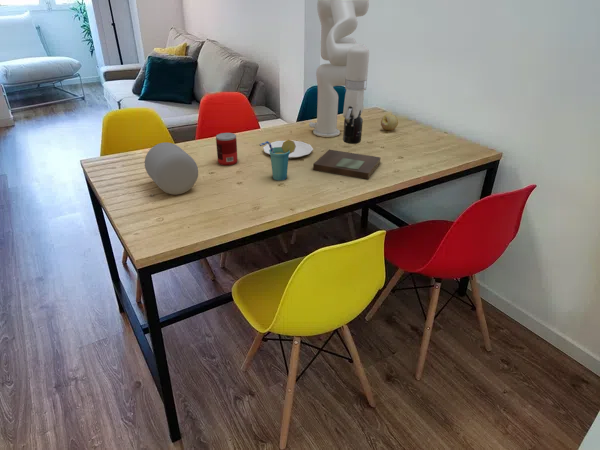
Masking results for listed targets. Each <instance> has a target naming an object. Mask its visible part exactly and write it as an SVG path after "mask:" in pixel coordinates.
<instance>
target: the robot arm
mask: <svg viewBox="0 0 600 450" xmlns="http://www.w3.org/2000/svg"><path fill="white" fill-rule="evenodd" d="M369 2H370V1H369V0H317V3H316V8H317V14H318V18H319V22H320V57H321V59H322V60H324V61H328V62H329V63H322V64H320V65H319V66H318V67H317V68H316V73H315V74H316V75H315V76H316V84H317V86H316V87H317V103H316V105H317V106H316V107H317V109H316V122H312V121H309V123H308V126H309V128H311V129H312V128H313V130H312V132H313V134H314V136H318V137H321V138H333V137H334V138H335V137H337V136H340V133H341V131H340V129H339V128H338V113H339V112H338V111H339V93H338V92H337V91H336V89H335V88H334V87H344V89H345V94H344V102H343V111H342V117H343V118H344V119H345V117H346V127H345V136H348V137H353V136H354V121H355V118H357V117H358V115H359V112H360V110H361V115H362V114H363V112H364V111H363V110H364V102H365V101H364V100H365V99H364V98H365V91H366V90H367V85H368V72H369V61H370V50H369V48H367V46H366V44H364V43H357V41H356V39H355V38H354V37H352V36H351V37H350V35H351V34H353V33H354V32H355V31H356V30H357V28H358V17H363V16H365V15H366V14H367V13H368V11H369V6H370V3H369ZM361 115H360V117H361V118H362V116H361ZM351 116H353V117H351ZM350 119H352V121H351V120H350Z"/></svg>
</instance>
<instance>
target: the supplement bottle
mask: <svg viewBox="0 0 600 450" xmlns="http://www.w3.org/2000/svg"><path fill="white" fill-rule="evenodd" d="M360 115H362V113H361V110H360V112H359V115H358V117H357V118H355V121H354V136H353V137H348V136H345V127H346V117H345V118H344V120H343V133H342V141H343V142H344V143H346V144H348V145H357V144H361V141H362V134H363V124H364V123H363V122H364V120H363V117H362V116H361V117H360ZM351 117H353V116H351ZM350 120H351V121H352V119H350Z"/></svg>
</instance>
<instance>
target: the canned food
mask: <svg viewBox="0 0 600 450" xmlns="http://www.w3.org/2000/svg"><path fill="white" fill-rule="evenodd" d="M215 143H216V145H215V146H216V155H217V156H216V157H217V162H218V164H219V165H220V166H224V167H225V166H226V167H227V166H233V165H235V164H237V163H238V144H237V143H238V142H237V135H236V133H233V132H221V133H218V134H216V135H215Z"/></svg>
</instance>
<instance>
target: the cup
mask: <svg viewBox="0 0 600 450" xmlns="http://www.w3.org/2000/svg"><path fill="white" fill-rule="evenodd" d="M286 140H287V141H286ZM286 140H284V141H285V142H283V145H282V147H274V148H272V146H271V143H272V142H270V141H269V140H267V141H264V142H262V143H259V147H262V146H263V147H264V146H266V145H267V144H269V147H270V150H269V153H270V154H269V155H270V164H271V173H272V179H273V180H275V181H284V180H286V179H287V178H288V170H289V169H288V168H289V166H288V165H289V159H290V158H289V154H290V153H292V152H294V150H295V147H296V146H295V143H294V141H295V140H293V141H291V140H292V139H286Z"/></svg>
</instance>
